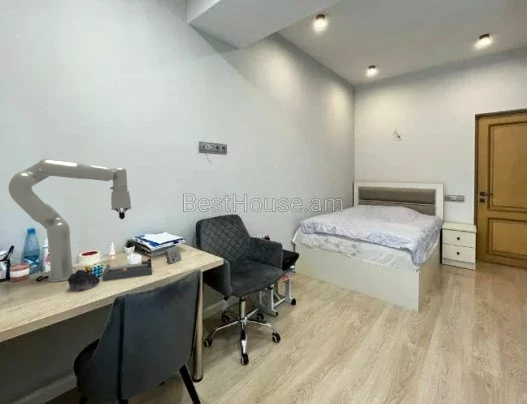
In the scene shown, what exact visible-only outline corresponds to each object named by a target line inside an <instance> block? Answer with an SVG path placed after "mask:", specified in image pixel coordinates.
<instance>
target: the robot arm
mask: <svg viewBox="0 0 527 404" xmlns="http://www.w3.org/2000/svg"><path fill="white" fill-rule="evenodd" d="M127 176H128V174H127V169H126V168H123V167H122V168H121V167H115V168H109V167H106V166H98V165H97V166H96V165H89V164H84V163H79V162H73V161H66V160H65V161H64V160H57V159H51V158H50V159H49V158H44V159H40V160H39V161H38V162H36V164H33V165H32V166H30V167H28V168H26V169H24V170H22V171H19V172H17V173H15V174H14V175H13V176H12V178H11V179H10V180H9V183H8V184H9V185H8V192H9V196H10V197H11V198H12V200H13V201H14V202H15V203H16V204H17V205H18V206H19V207H20V208H21V209H22V210H23V211H24V212H25V213H26V214H27V215H28V216H29V217H30V218H31V219H32V220H33V221H34V222H36V223H39V225H41V226H42V227H43V228H44V229H46V236H47V247H48V256H49V266H50V270H49V271H44V272H41V273H40V276H41V277H42V278H44V277H47V281H48V282H50V283H51V282H52V283H58V282H65V281H68V278H69V277H70V276H71V274H75V273H76V271H74V270H73V258H72V257H73V256H72V247H71V246H72V245H71V230H70V226H69V224H68V222H67V220H66V219H64V218H63V217H62V216H61V215H60V214H59V212H57V211H56V210H55V209H54V208H53V207H52V206H51V205H49V204H47V203H45V202H44V201H43V200H42V199H41V198H40V197H39V196H38V195H37V193H35V192H34V190H33V187H34V186H35V185H37V184H39V183H40V182H42V181H44V180H45V179H47V178H50V177H59V178H60V177H61V178H68V179H78V180H81V179H83V180H95V181H103V182H109V181H111V180H112V186H110V190H112V191H111V194H110V195H111V197H110V201H111V202H110V205H111V210H112V211H116V212H117V213H118V219H120V220H124V219H125V218H126V212H127V211H128V210H131V209H132V204H131V203H132V202H131V194H130V191H129V190H128V179H127V178H128V177H127ZM121 209H122V211H121Z"/></svg>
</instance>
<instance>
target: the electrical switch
mask: <svg viewBox="0 0 527 404" xmlns="http://www.w3.org/2000/svg"><path fill="white" fill-rule="evenodd" d="M164 255H165V258H166V262H167V263H169V264H175V263H176V262H179V261H181V260H182V256H181V252H180V248H179V245H178V246H173V247H170V248H168V249H167V248H166V250H165V251H164Z"/></svg>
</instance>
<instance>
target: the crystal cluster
mask: <svg viewBox="0 0 527 404" xmlns="http://www.w3.org/2000/svg"><path fill="white" fill-rule="evenodd" d="M75 272H76V273H75V274H71V276H70V277H69V278H68V280H67V283H68V287H69V289H70V290H72V291H84V290H85V291H86V290H89V289H92V288H94V287H97V286H98V285H99V284H100V278H99V277H98V276H97V275H96V274H93V273H91V274H90V273H88V271H86V270H84V269H76V271H75Z"/></svg>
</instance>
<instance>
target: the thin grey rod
mask: <svg viewBox="0 0 527 404" xmlns="http://www.w3.org/2000/svg"><path fill="white" fill-rule="evenodd" d="M145 265H148V261H147V260H141V262H138V263H132V264H131V263H130V264H124V265H116V266H110V267H109V270H115V269H123V268H130V267H138V266H145Z"/></svg>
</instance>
